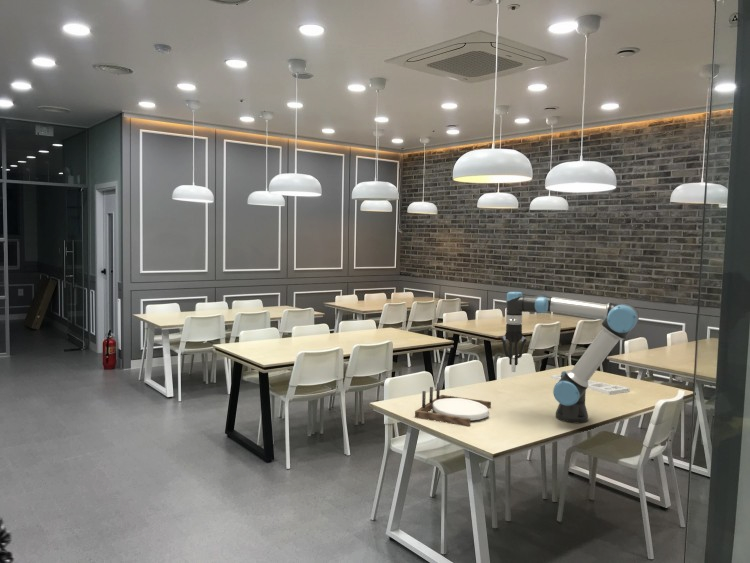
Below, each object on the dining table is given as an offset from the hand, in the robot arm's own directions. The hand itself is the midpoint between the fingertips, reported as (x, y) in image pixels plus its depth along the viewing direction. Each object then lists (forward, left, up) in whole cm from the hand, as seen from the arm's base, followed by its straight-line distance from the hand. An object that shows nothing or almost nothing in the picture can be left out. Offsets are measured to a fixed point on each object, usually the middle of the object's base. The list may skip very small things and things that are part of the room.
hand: (513, 371), depth 283 cm
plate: (+23, +10, -23) cm, 34 cm away
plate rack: (+27, +8, -22) cm, 36 cm away
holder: (-25, -94, -23) cm, 100 cm away
